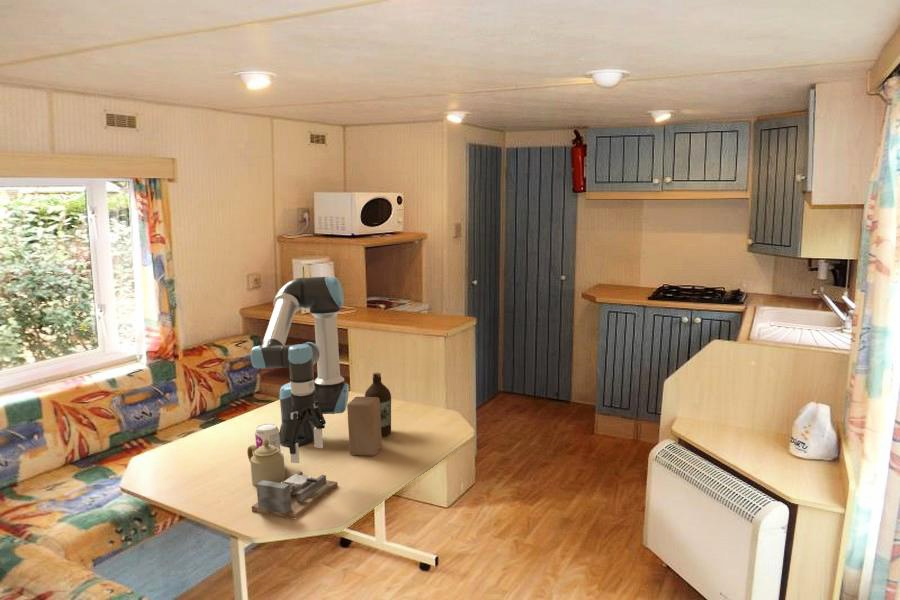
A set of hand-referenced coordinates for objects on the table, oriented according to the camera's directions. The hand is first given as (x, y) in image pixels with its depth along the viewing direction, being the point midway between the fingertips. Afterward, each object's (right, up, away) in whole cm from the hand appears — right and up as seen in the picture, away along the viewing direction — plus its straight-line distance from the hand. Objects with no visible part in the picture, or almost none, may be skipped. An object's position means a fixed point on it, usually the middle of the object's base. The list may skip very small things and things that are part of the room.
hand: (307, 454), depth 223 cm
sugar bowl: (-17, -11, +10) cm, 22 cm away
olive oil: (+18, -3, +50) cm, 54 cm away
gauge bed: (-3, -13, -5) cm, 14 cm away
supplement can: (-18, -9, +21) cm, 29 cm away
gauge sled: (-1, -11, -7) cm, 13 cm away
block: (+15, -6, +32) cm, 36 cm away
